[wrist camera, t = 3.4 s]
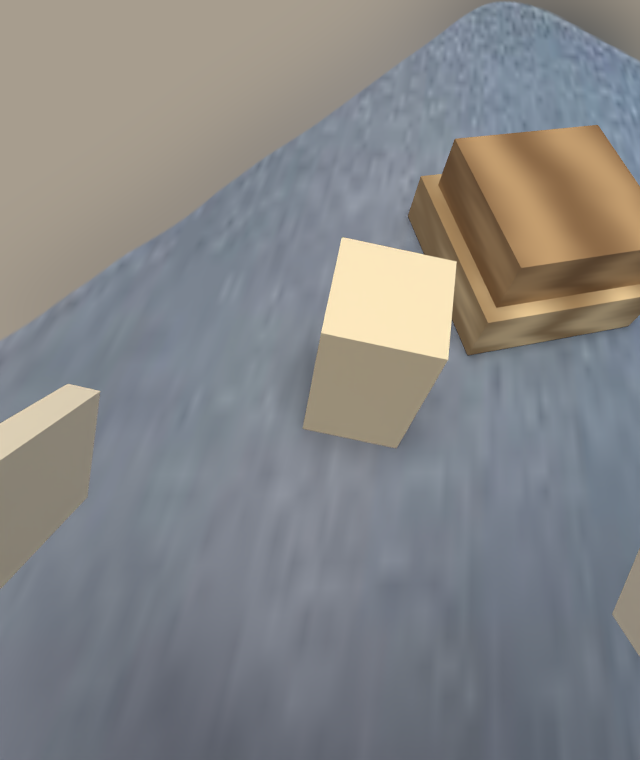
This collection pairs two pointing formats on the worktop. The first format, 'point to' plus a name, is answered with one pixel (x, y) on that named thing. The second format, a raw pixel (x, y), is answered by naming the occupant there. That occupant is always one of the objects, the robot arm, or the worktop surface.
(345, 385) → the cream brick
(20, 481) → the robot arm
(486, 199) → the block tower
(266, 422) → the worktop surface
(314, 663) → the worktop surface
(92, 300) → the worktop surface
